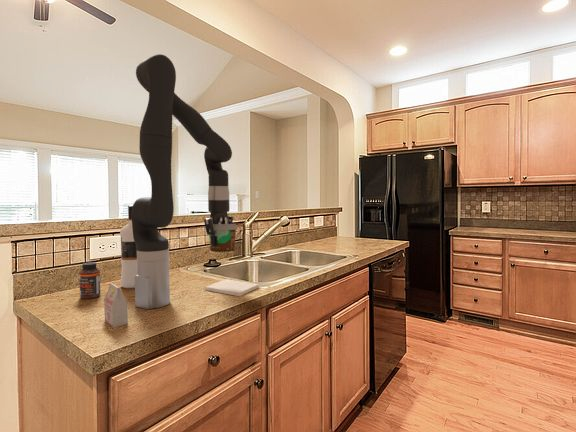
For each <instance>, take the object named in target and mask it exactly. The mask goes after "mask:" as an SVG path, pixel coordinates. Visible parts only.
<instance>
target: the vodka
mask: <svg viewBox="0 0 576 432" xmlns="http://www.w3.org/2000/svg"><path fill="white" fill-rule="evenodd" d="M132 207H133V204H131V205H128V206H127V212H128V218H127V219H128V220H127V221H128V223H127V224H126V225H124V226H123V227H122V228H121V229H120V232H119V233H120V251H121V252H120V253H121V255H120V256H121V259H120V262H121V274H120V275H121V276H120V280H119V281H120V282H119V283H120V286H121V287H122V288H123V289H135V275H137V247H136V244H135V242H134V239H133V229H132Z"/></svg>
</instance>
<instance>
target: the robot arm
mask: <svg viewBox="0 0 576 432" xmlns="http://www.w3.org/2000/svg"><path fill="white" fill-rule="evenodd" d="M135 76H136V80H137V81H138V83H139V84H140V85H141V87H142V88H143V89H144V90H145V91H146V92H147V93H148V101H147V106H146V110H145V113H144V116H143V119H142V122H141V125H140V129H139V144H138V145H139V155H140V158H141V160H142V163H143V165H144V166H145V169H146V171H147V174H148V175H149V178H150V183H151V196H143V197H140V198H137V199H136V200H135V201H134V202H133V204H132V205H133V207H132V229H133V239H134V242H135V244H136V247H137V275H135V288H134V298H135V300H134V301H135V303H134V304H135V307H138V308H140V309H141V308H142V309H146V310H151V309H157V308H161V307H165V306H167V305H169V304H170V303H171V289H170V287H171V285H170V279H171V278H170V249H169V248H170V247H169V240H168V238H167V237H164V236H163V235H162V234H161V233H160V231H159V230H158V228H159V229H161V228H162V229H163V228H166V227H168V226H170V224H171V223H172V221H173V217H174V209H175V208H174V194H173V183H172V181H173V180H172V179H173V178H172V154H173V153H172V152H173V117H174V118H175V119H176V120H177V121H178V122H179V123H180V124H181V125H182V126H183V128H184V129H185V130H186V131H187V132H188V134H189V135H190V137H192V139H193V140H194V141H195V142H196V143H197V144H198V145H202V146H205V149H204V152H203V156H204V163H205V166H206V171H207V174H208V190H207V196H208V197H207V199H208V201H207V205H208V212H209V213H210V216H209V217H208V218H204V219H203V220H204V227H205V232H206V233H205V234H206V235H207V236H209V235H210V236H211V245H212V246H213V247H217V246H218V242H217V230H215V233H214V230H213V224H233V220H234V217H233V216H231V215H228V213H229V212H230V189H229V173H228V171H227V170H226V169H223V165H222V164H223V163H227V162H228V161H230V160H231V159H232V156H233V151H232V147H231V146H230V144H229V143H228V141H226V140H225V139H224V138H223V137H222V136H221V135H220V134H218V133H217V132H216V131H214V130H213V128H212V127H211V126H210V124H209V122H207V120H205V118H204V117H203V115H201V113H199V111H197V110H196V109H195V108H193V107H192V106H191V105H190V104H188V103H187V102H185V101H184V99H181V97H179V96H178V95H177V94H176V92H175V88H176V80H177V72H176V68H175V66H174V63H173V61H172V60H171V59H170V58H169V57H167V55H165V54H162V53H159V54H154V55H151V56H150V57H148V58H146V59H144V60H142V62H140V63H138V65H137V66H136V69H135ZM209 229H210V231H209Z"/></svg>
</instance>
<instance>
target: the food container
mask: <svg viewBox="0 0 576 432" xmlns="http://www.w3.org/2000/svg"><path fill="white" fill-rule="evenodd" d="M213 230H214V233H215V230H217V242H218V246H217V247H213V246H212V245H211V236H210V235H208V238H209V246H210V247H209V248H210V252H213V253H215V252H216V253H227V252H234V251H235V244H236V235H237V234H236V232H237V230H238V225H237V223H232V224H213ZM209 231H210V229H209Z"/></svg>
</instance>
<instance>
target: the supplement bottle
mask: <svg viewBox="0 0 576 432" xmlns="http://www.w3.org/2000/svg"><path fill="white" fill-rule="evenodd" d="M100 273H101V271H100V269H99V268H97V262H96V261H95V262H94V261H89V262H84V263H82V269H81V270H80V271H79V276H78V278H79V283H78V284H79V297H80V299H84V300H89V299H95V298H99V296H100V295H101V275H100Z"/></svg>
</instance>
